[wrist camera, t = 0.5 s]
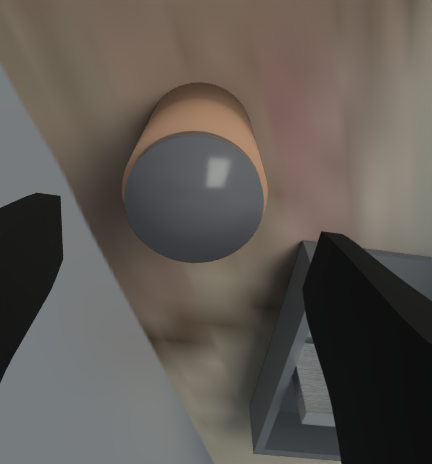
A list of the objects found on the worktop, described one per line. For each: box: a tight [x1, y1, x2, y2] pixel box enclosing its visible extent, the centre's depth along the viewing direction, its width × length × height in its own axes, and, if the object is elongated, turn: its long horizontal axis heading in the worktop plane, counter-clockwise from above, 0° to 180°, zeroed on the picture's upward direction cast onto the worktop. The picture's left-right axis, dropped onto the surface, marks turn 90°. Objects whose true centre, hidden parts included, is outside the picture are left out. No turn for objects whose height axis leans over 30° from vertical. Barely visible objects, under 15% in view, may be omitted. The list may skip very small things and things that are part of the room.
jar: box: [122, 83, 268, 263], centre depth 16 cm, size 5×5×7 cm
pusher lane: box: [249, 241, 432, 461], centre depth 25 cm, size 11×15×4 cm
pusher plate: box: [292, 343, 335, 427], centre depth 24 cm, size 9×2×6 cm, turn 81°
